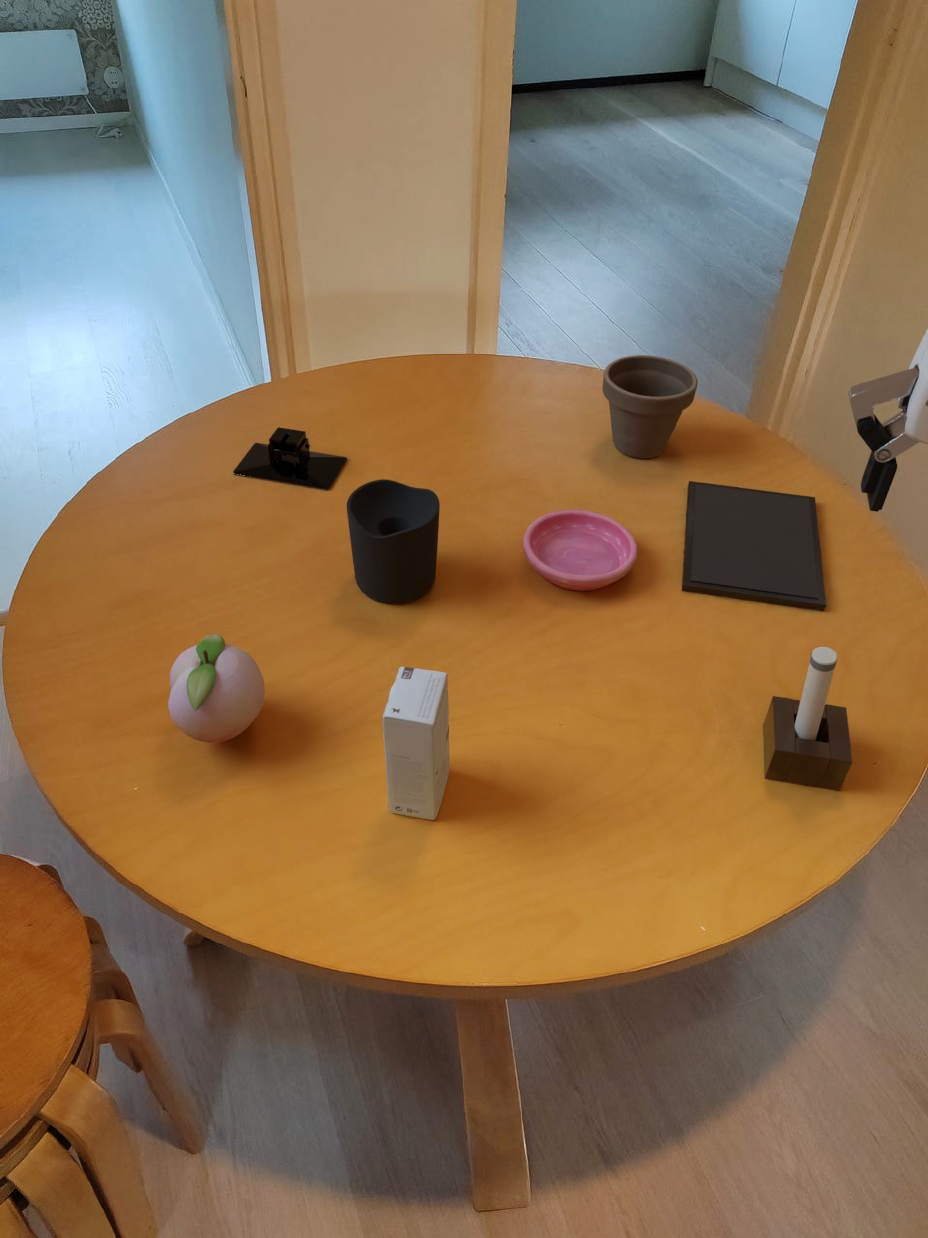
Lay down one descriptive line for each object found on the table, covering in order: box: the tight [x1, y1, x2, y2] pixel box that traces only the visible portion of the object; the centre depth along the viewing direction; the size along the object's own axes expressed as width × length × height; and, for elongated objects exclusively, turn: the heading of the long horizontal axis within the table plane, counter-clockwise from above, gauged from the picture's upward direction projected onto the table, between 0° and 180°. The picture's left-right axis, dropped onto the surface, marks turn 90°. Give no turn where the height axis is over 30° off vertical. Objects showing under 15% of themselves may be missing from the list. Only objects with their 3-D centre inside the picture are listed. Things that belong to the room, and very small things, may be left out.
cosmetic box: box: [382, 666, 451, 821], centre depth 82 cm, size 6×4×12 cm
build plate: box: [232, 426, 348, 491], centre depth 121 cm, size 12×7×5 cm, turn 76°
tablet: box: [681, 480, 827, 612], centre depth 112 cm, size 15×20×1 cm
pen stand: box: [762, 695, 853, 792], centre depth 88 cm, size 6×6×4 cm
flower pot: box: [602, 354, 699, 459], centre depth 124 cm, size 12×11×10 cm
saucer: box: [522, 509, 638, 591], centre depth 108 cm, size 12×12×3 cm
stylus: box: [795, 646, 838, 741], centre depth 85 cm, size 2×2×13 cm
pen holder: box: [346, 478, 441, 605], centre depth 103 cm, size 9×9×10 cm
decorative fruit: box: [167, 633, 266, 744], centre depth 87 cm, size 9×8×10 cm
